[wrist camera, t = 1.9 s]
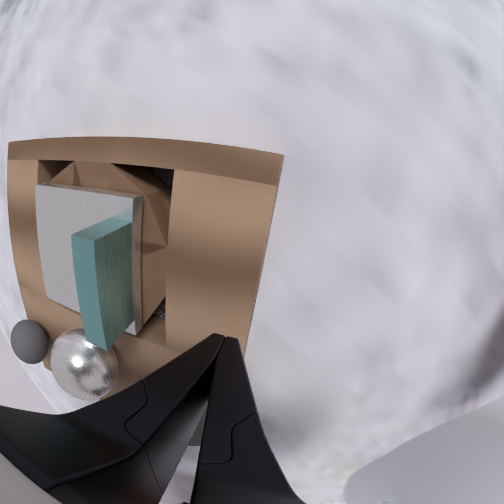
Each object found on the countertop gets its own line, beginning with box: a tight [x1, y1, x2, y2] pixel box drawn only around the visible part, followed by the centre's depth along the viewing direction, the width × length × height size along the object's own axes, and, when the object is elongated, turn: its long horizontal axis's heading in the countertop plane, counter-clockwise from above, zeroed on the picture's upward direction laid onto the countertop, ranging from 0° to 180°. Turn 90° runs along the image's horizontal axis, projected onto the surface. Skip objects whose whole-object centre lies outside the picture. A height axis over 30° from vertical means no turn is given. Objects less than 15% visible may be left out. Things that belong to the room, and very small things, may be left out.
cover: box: [35, 182, 143, 351], centre depth 11 cm, size 7×7×3 cm
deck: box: [7, 137, 284, 400], centre depth 15 cm, size 20×18×2 cm
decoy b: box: [11, 320, 49, 364], centre depth 15 cm, size 4×4×4 cm
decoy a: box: [188, 404, 208, 446], centre depth 14 cm, size 4×4×4 cm
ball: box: [50, 328, 119, 400], centre depth 13 cm, size 4×4×4 cm
